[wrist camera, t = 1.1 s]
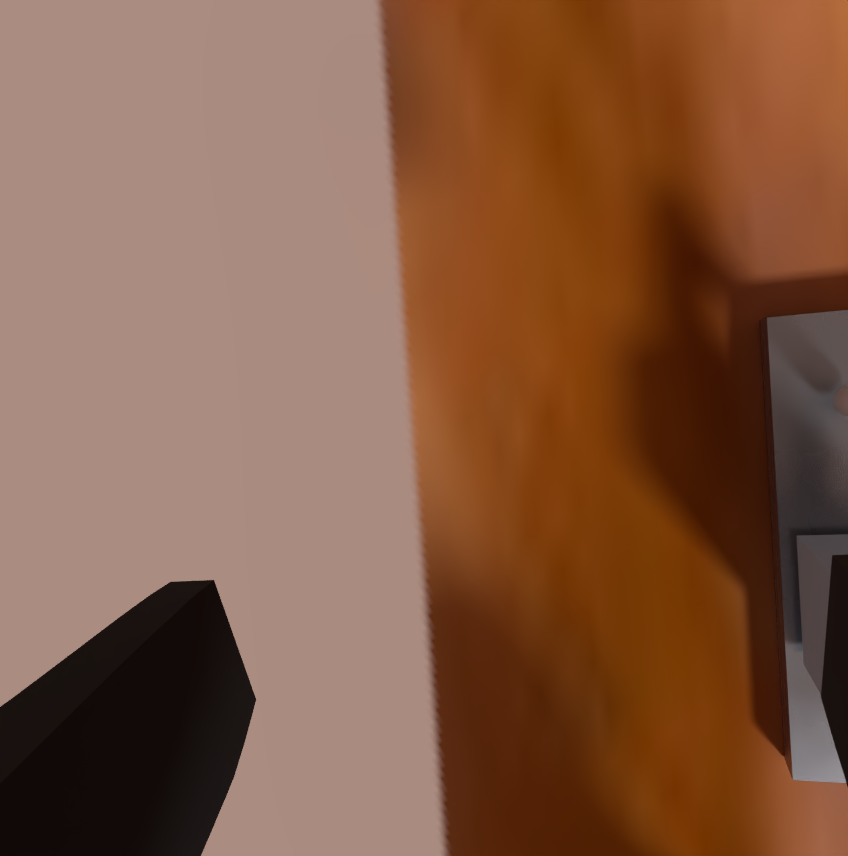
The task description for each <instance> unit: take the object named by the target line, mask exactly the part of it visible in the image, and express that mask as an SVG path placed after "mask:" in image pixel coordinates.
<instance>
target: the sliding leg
mask: <svg viewBox="0 0 848 856" xmlns="http://www.w3.org/2000/svg"><path fill="white" fill-rule="evenodd" d="M833 403H834V407H835V409H836V410H837V411H838V412H839V413H840V414H842V415H844V416H847V417H848V385H846V386H844V387H842V388H840V389H839V390H838V391H837V392H836V394H835V396H834V399H833ZM797 554H798V572H799V590H800V609H801V627H802V645H803V664H804V666H805V668H806V669H807V671H808V673H809V675H810V676H811V678H812V680H813V682H814V683H815V685H816V687H817V689H818V690H819V692H820V694H821V688H822V676H823V663H824V651H825V638H826V626H827V613H828V600H829V588H830V575H831V563H832V555H847V554H848V534H842V535H801V536H797Z"/></svg>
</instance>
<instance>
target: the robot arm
mask: <svg viewBox="0 0 848 856" xmlns="http://www.w3.org/2000/svg"><path fill="white" fill-rule="evenodd" d="M821 700H822V703H823V706H824V710H825V713H826V717H827V720H828V724H829V727H830V731H831V734H832V737H833V741H834V744H835V748H836V751H837V754H838V757H839V760H840V764H841V767H842V770H843V773H844V776H845V780H846V783H847V786H848V554H847V555H832V563H831V575H830V588H829V600H828V613H827V626H826V638H825V651H824V663H823V676H822V688H821ZM255 702H256V698H255V695H254V692H253V690H252V687H251V684H250V681H249V678H248V676H247V673H246V670H245V667H244V664H243V661H242V658H241V656H240V653H239V650H238V647H237V645H236V641H235V639H234V636H233V633H232V630H231V627H230V624H229V622H228V619H227V616H226V613H225V610H224V607H223V605H222V602H221V599H220V596H219V593H218V591H217V588H216V585H215V582H214V580H207V581H182V582H170V583H168V584H167V585H165V586H164V587H162V588H160V589H159V590H157V591H156V592H154V593H153V594H151V595H150V596H148V597H147V598H146V599H144V600H143V601H141V602H140V603H139V604H137V605H136V606H134V607H133V608H132V609H130V610H129V611H128V612H126V613H125V614H124V615H122V616H121V617H119V618H118V619H117V620H115V621H114V622H113V623H111V624H110V625H109V626H108V627H106V628H105V629H104V630H102V631H101V632H100V633H98V634H97V635H96V636H94V637H93V638H92V639H90V640H89V641H88V642H86V643H85V644H84V645H83V646H81V647H80V648H78V649H77V650H76V651H75V652H73V653H72V654H71V655H69V656H68V657H67V658H65V659H64V660H63V661H61V662H60V663H59V664H57V665H56V666H55V667H53V668H52V669H51V670H50V671H48V672H47V673H45V674H44V675H43V676H41V677H40V678H39V679H37V680H36V681H35V682H33V683H32V684H31V685H29V686H28V687H27V688H25V689H24V690H23V691H21V692H20V693H19V694H18V695H16V696H15V697H13V698H12V699H11V700H9V701H8V702H7V703H5V704H4V705H2V706H1V707H0V856H201V854H202V852H203V849H204V847H205V845H206V842H207V840H208V838H209V835H210V833H211V831H212V828H213V826H214V823H215V821H216V819H217V816H218V814H219V811H220V809H221V807H222V805H223V802H224V800H225V798H226V795H227V793H228V790H229V787H230V785H231V783H232V780H233V778H234V775H235V771H236V768H237V765H238V762H239V759H240V755H241V752H242V749H243V746H244V742H245V739H246V735H247V731H248V727H249V724H250V720H251V717H252V713H253V709H254V705H255Z"/></svg>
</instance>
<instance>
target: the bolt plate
mask: <svg viewBox="0 0 848 856" xmlns="http://www.w3.org/2000/svg"><path fill="white" fill-rule="evenodd" d="M760 331H761V348H762V366H763V384H764V401H765V419H766V437H767V454H768V472H769V490H770V507H771V525H772V543H773V560H774V578H775V596H776V613H777V631H778V649H779V666H780V684H781V702H782V719H783V737H784V755H785V761H786V764H787V766H788V769H789V771H790V774H791V777H792V779H793V780H802V781H821V782H839V783H846V780H845V776H844V773H843V770H842V767H841V764H840V760H839V757H838V754H837V751H836V748H835V744H834V741H833V737H832V734H831V731H830V727H829V724H828V720H827V717H826V713H825V710H824V706H823V703H822V700H821V694H820V692H819V690H818V689H817V687H816V685H815V683H814V682H813V680H812V678H811V676H810V675H809V673H808V671H807V669H806V668H805V666H804V664H803V645H802V627H801V609H800V590H799V572H798V554H797V536H801V535H842V534H848V417H847V416H844V415H842V414H840V413H839V412H838V411H837V410H836V409H835V407H834V403H833V399H834V396H835V394H836V392H837V391H838V390H839V389H840V388H842V387H844V386H846V385H848V310H841V311H830V312H820V313H810V314H799V315H789V316H778V317H768V318H764V319H761V320H760Z"/></svg>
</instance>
